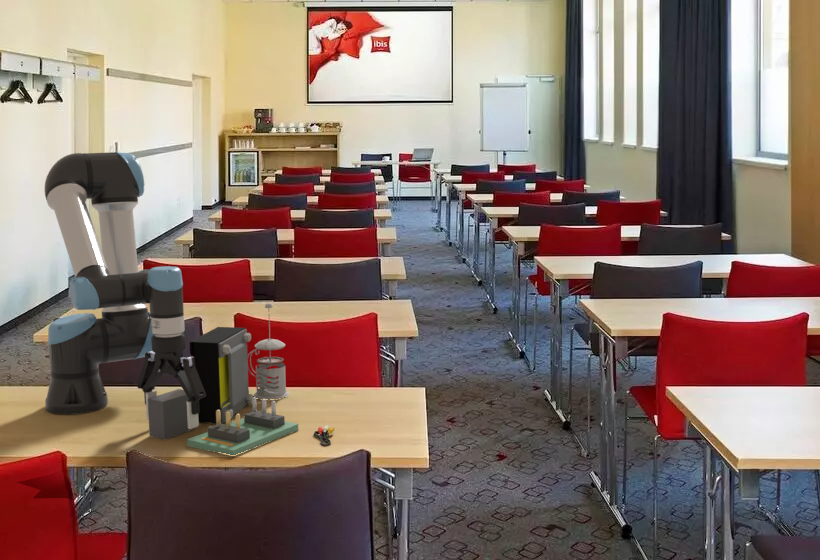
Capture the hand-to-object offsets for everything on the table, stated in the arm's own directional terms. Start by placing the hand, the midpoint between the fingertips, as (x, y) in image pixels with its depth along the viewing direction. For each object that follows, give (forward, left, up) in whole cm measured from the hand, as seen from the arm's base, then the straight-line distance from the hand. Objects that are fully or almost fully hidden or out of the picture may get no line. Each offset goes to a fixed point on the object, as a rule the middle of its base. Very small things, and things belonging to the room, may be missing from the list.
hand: (172, 423), depth 223 cm
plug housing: (0, 0, -2) cm, 2 cm away
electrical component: (-1, +18, -3) cm, 18 cm away
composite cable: (+33, +15, -3) cm, 36 cm away
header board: (+17, +6, -2) cm, 18 cm away
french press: (-2, +36, -3) cm, 36 cm away
